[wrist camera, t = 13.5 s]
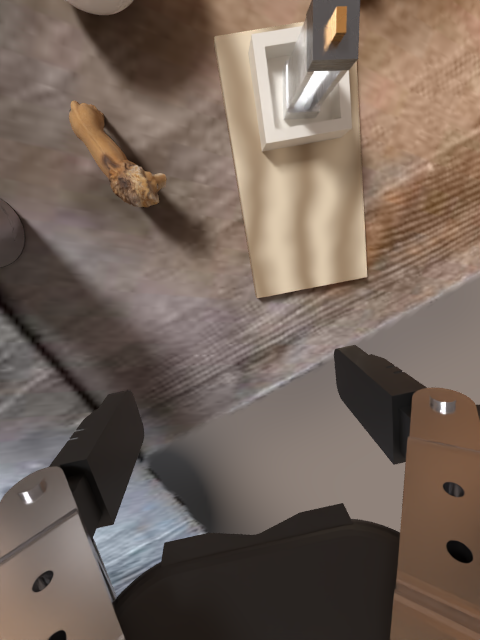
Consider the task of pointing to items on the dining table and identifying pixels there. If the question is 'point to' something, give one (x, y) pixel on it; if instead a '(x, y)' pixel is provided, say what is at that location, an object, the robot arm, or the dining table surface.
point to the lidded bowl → (101, 6)
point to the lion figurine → (114, 159)
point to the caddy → (267, 85)
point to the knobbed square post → (320, 56)
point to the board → (293, 188)
